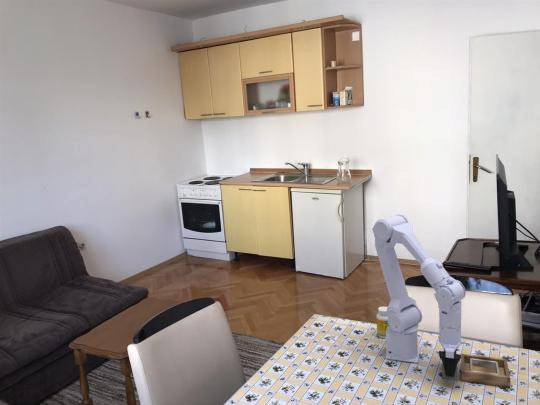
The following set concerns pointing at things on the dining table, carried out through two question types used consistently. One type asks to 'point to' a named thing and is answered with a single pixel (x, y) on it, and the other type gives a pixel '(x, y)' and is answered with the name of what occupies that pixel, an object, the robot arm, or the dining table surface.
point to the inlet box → (485, 370)
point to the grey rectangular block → (448, 376)
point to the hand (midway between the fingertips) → (450, 368)
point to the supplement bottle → (382, 322)
